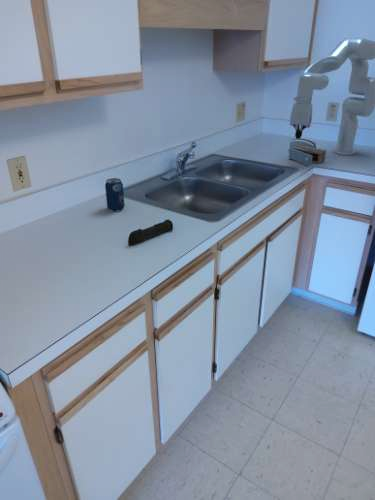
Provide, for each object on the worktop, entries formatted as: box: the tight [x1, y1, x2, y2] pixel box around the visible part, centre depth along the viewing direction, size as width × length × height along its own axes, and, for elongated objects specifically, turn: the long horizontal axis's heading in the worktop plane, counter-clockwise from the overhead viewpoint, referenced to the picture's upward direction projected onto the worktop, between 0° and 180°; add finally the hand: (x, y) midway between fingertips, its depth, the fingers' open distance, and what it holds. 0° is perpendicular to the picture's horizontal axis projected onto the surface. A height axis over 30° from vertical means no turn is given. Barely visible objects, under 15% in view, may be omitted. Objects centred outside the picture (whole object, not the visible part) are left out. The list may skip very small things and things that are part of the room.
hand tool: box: [127, 219, 174, 246], centre depth 135 cm, size 19×4×5 cm, turn 133°
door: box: [288, 148, 313, 166], centre depth 215 cm, size 2×17×5 cm, turn 27°
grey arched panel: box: [288, 137, 317, 152], centre depth 233 cm, size 17×5×10 cm, turn 50°
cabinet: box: [292, 145, 327, 165], centre depth 220 cm, size 8×17×6 cm, turn 53°
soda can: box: [104, 177, 126, 212], centre depth 155 cm, size 7×7×12 cm
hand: (298, 137), depth 204 cm, fingers closed
